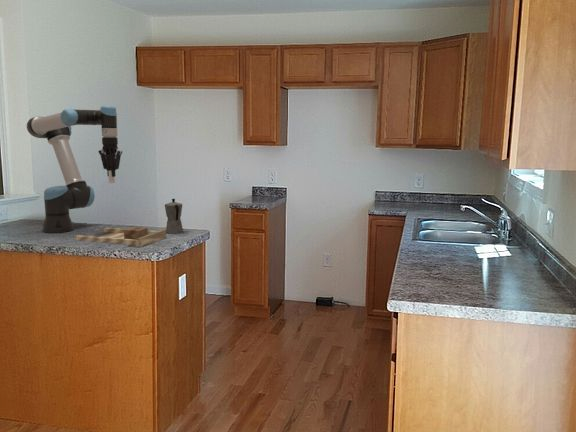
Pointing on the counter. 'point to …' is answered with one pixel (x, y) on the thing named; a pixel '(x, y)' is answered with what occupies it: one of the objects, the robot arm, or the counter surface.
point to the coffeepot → (173, 217)
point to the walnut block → (135, 233)
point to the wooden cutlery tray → (118, 237)
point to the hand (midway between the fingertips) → (111, 183)
